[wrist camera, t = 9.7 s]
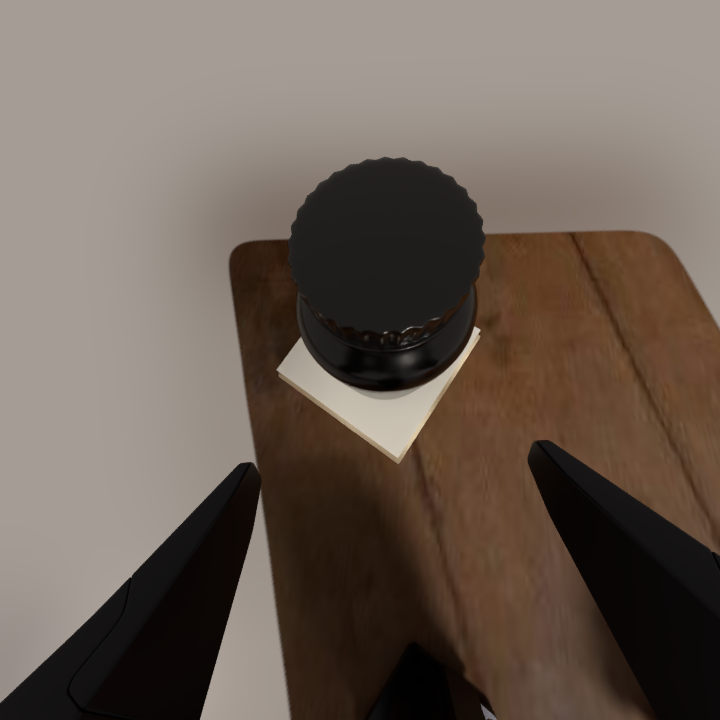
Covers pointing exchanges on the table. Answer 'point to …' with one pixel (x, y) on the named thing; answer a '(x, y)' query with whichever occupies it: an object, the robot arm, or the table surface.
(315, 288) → the supplement bottle
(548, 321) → the table surface
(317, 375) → the top slab
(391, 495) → the table surface
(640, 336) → the table surface
